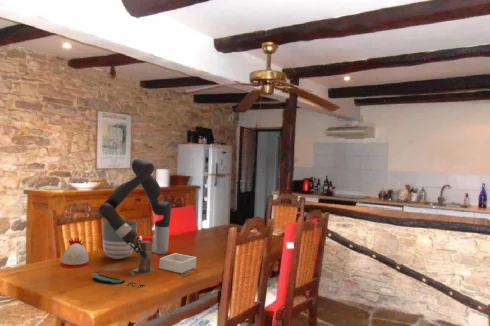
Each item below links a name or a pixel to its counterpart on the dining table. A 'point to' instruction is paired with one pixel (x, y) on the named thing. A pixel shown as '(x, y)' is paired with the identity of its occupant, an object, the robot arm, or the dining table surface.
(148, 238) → the toy hammer
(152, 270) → the stud plate
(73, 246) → the kitchen timer
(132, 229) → the robot arm
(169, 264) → the bin
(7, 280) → the dining table surface
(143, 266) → the strut
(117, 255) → the planter
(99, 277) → the cutlery set
